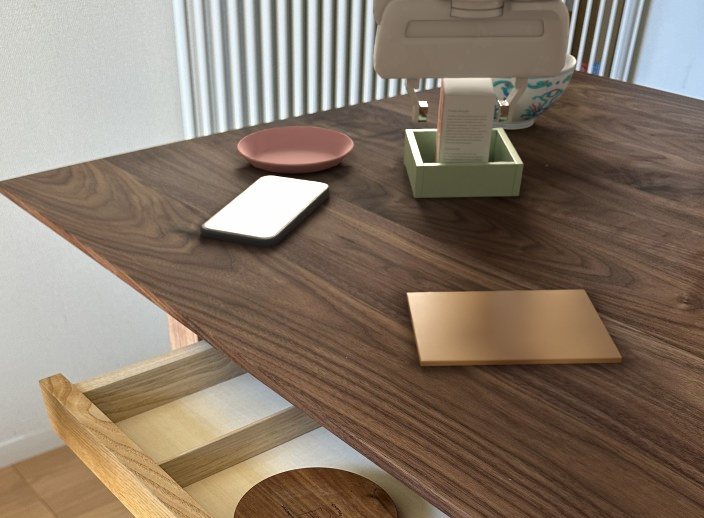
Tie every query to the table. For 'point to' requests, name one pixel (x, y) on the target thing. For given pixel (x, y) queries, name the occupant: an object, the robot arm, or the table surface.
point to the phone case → (266, 211)
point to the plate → (295, 149)
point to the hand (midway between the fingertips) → (461, 120)
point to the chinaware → (533, 96)
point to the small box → (465, 120)
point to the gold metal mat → (509, 328)
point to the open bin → (461, 168)
